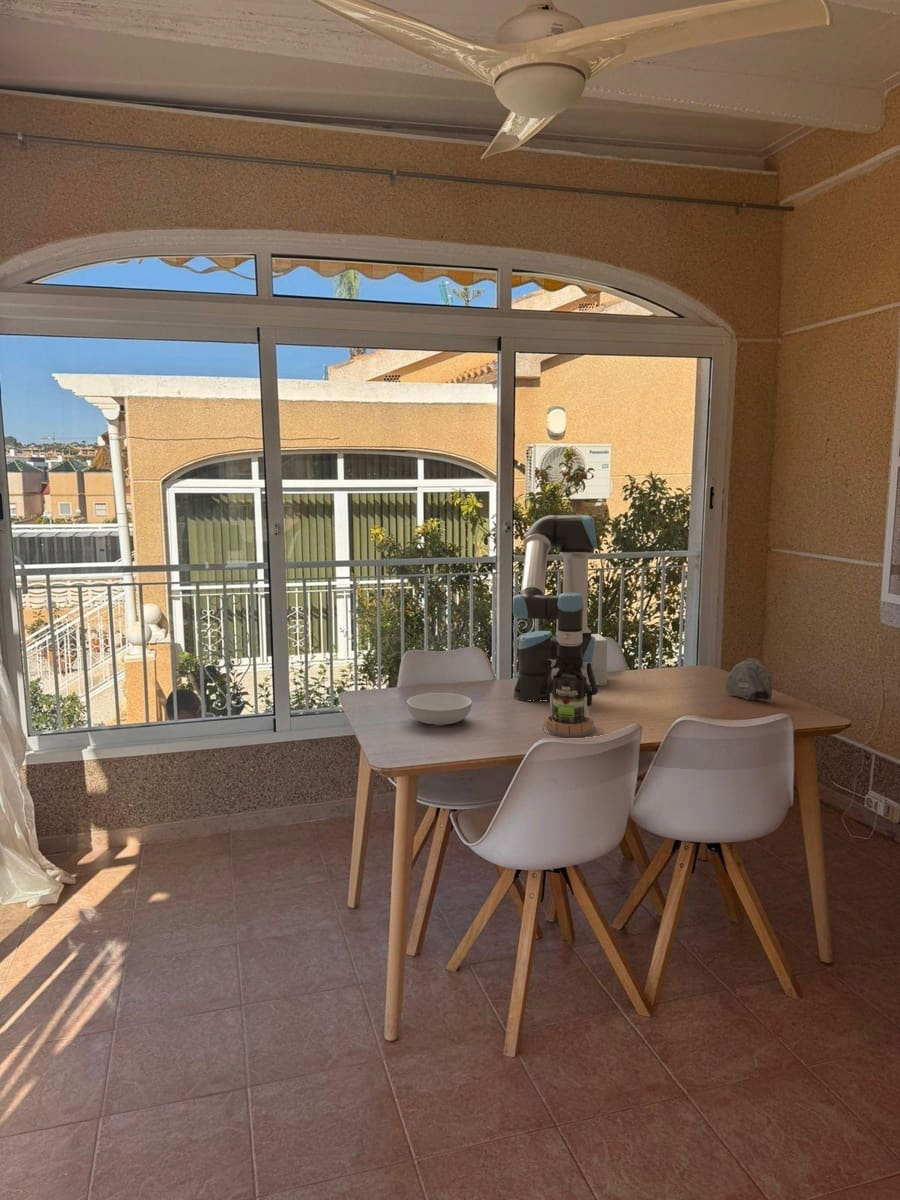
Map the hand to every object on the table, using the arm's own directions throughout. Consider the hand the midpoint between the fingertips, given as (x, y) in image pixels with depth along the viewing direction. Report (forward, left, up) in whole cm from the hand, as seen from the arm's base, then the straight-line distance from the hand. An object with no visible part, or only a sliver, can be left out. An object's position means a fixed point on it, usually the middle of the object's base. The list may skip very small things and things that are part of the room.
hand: (569, 714), depth 251 cm
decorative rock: (+50, +56, -5) cm, 75 cm away
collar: (0, 0, -5) cm, 5 cm away
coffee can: (0, 0, -2) cm, 2 cm away
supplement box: (-9, +62, -5) cm, 63 cm away
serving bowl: (-41, -6, -5) cm, 42 cm away
